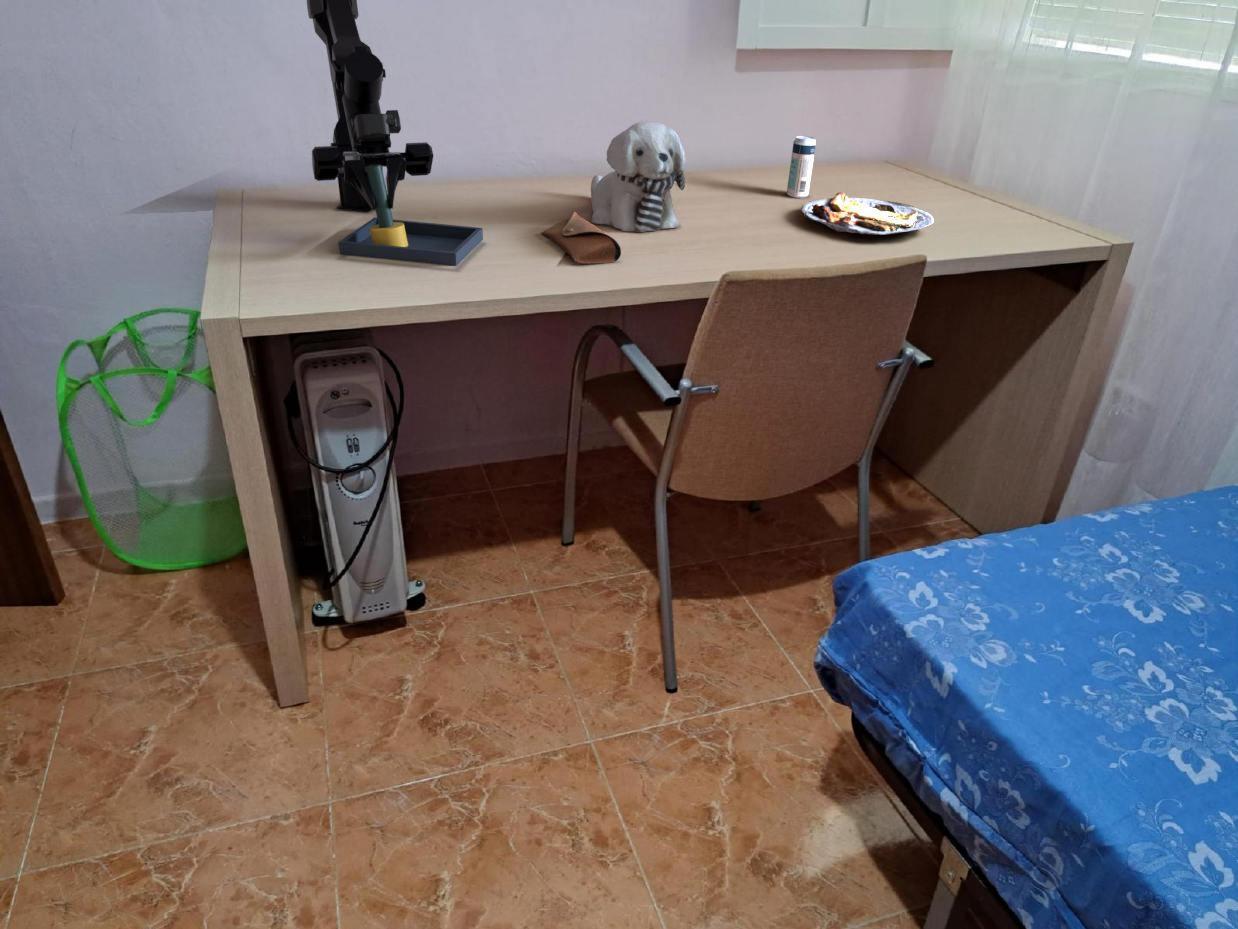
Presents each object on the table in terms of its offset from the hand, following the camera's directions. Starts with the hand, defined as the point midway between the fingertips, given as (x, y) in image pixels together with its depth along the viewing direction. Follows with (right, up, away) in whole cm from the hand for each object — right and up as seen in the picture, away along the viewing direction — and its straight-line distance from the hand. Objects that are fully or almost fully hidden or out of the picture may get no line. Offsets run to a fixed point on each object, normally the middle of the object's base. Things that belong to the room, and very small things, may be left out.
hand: (382, 207), depth 145 cm
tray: (+3, -5, +7) cm, 9 cm away
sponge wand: (0, -5, +4) cm, 7 cm away
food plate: (+86, +6, +34) cm, 93 cm away
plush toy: (+41, +8, +32) cm, 52 cm away
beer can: (+76, +17, +50) cm, 93 cm away
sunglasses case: (+31, -4, +12) cm, 33 cm away
